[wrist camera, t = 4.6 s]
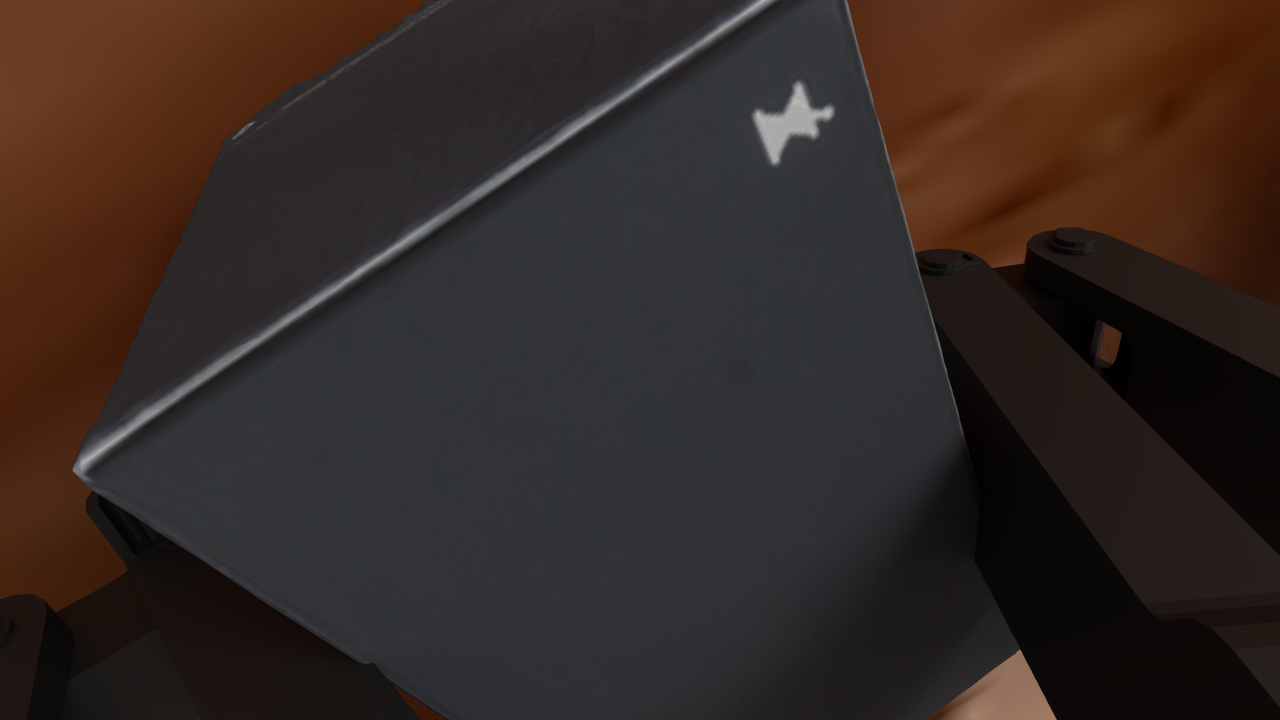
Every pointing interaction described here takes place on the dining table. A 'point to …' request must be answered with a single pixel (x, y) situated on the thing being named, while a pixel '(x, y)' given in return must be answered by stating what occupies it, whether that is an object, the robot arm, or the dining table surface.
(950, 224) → the dining table surface
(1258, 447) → the robot arm
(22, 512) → the dining table surface
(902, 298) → the small box
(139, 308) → the dining table surface
